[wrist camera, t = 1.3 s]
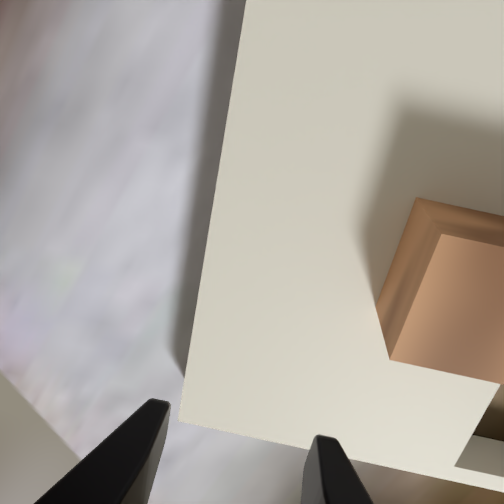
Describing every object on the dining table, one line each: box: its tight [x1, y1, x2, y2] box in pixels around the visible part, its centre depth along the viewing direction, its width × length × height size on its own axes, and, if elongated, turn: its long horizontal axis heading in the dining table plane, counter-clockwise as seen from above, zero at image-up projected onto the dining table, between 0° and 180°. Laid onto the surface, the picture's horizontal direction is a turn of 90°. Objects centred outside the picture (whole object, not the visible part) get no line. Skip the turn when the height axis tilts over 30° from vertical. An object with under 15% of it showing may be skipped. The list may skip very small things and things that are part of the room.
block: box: [375, 197, 504, 385], centre depth 17 cm, size 5×5×4 cm
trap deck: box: [178, 0, 504, 492], centre depth 19 cm, size 22×23×4 cm
